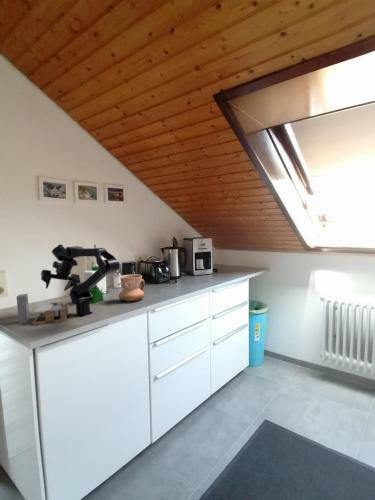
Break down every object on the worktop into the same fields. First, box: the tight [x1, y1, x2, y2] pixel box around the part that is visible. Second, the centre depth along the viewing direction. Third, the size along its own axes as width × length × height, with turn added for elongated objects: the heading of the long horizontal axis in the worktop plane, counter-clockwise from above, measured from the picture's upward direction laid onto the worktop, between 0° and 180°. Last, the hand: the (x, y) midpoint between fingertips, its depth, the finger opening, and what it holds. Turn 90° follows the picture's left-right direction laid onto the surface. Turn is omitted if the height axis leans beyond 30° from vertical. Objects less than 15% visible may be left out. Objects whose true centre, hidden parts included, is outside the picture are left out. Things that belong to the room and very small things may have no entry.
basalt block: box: [16, 293, 31, 324], centre depth 133 cm, size 4×5×12 cm
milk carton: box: [82, 265, 104, 304], centre depth 166 cm, size 9×9×20 cm
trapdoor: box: [34, 303, 62, 317], centre depth 136 cm, size 12×10×3 cm
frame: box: [32, 301, 70, 326], centre depth 137 cm, size 16×14×6 cm
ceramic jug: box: [117, 273, 146, 302], centre depth 166 cm, size 18×14×14 cm
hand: (55, 289), depth 151 cm, fingers open, 9 cm apart
